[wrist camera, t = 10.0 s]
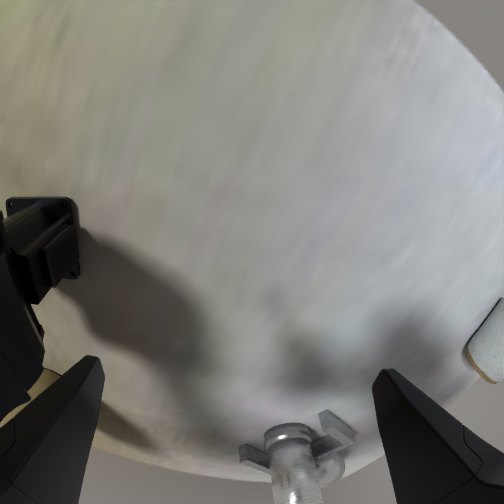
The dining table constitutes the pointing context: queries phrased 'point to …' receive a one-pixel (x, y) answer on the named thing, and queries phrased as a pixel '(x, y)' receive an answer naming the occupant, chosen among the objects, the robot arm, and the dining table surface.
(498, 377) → the ceramic mug
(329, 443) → the duct saddle
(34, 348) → the robot arm
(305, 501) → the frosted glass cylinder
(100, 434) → the dining table surface
